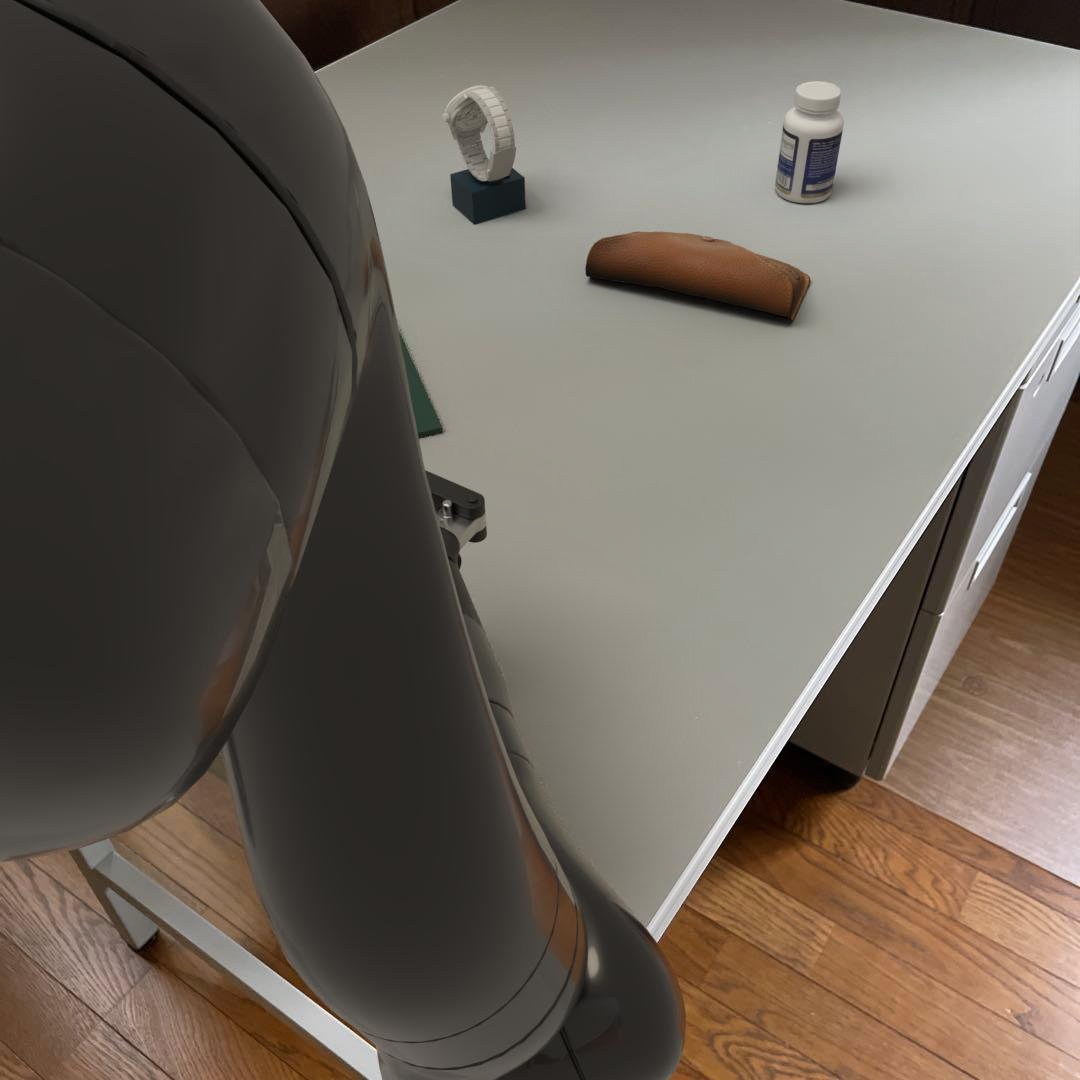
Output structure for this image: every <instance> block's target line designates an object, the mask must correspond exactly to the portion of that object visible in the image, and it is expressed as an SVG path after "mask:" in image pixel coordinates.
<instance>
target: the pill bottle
mask: <svg viewBox="0 0 1080 1080" xmlns="http://www.w3.org/2000/svg"><path fill="white" fill-rule="evenodd" d="M841 96H842V90H841V88H840V87H839V86H838V85H837V84H834V83H831V82H827V81H817V80H815V81H806V82H803V83H801V84H799V85H798V86H797V87H796V88H795V94H794V100H793V102H794V103H793V105H794V107H792V108H791V109H790V110H788V111H787V113H786V114H785V116H784V119H783V124H782V130H781V131H782V132H781V139H780V145H779V153H778V159H777V167H776V175H775V184H774V188H775V192H776V193H777V194H778V196H780V197H781V198H782V199H784V200H786V201H789V202H792V203H798V204H816V203H820V202H823V201H825V200H826V199H828V198H829V197H830V195H831V194H832V192H833V188H834V184H835V183H834V182H835V176H836V170H837V165H838V159H839V154H840V148H841V142H842V136H843V132H844V124H845V123H844V117H843V115H842V114H841V112H839V110H838V109H839V107H840V104H841V98H842V97H841Z"/></svg>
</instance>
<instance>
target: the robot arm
mask: <svg viewBox="0 0 1080 1080" xmlns="http://www.w3.org/2000/svg"><path fill="white" fill-rule="evenodd" d="M348 135H349V134H348V132H347V130H346V128H345V126H344V124H343V121H342V120H341V118H340V115H339V114H338V111H337V110H336V107H335V105H334V103H333V102H332V99H331V97H330V95H329V94H328V92H327V91H326V89H325V88H324V86H323V84H322V82H321V81H320V79H319V77H318V75H317V74H316V72H315V71H314V69H313V67H312V66H311V64H310V63H309V61H308V60H307V58H306V56H305V55H304V53H303V52H302V51H301V50H300V49H299V47H298V46H297V45H296V43H294V41H293V40H292V39H291V37H290V36H289V35H288V33H287V32H286V31H285V29H283V28H282V26H281V25H280V24H279V23H278V21H277V20H276V18H275V17H273V15H272V13H270V12H269V10H268V9H267V8H266V6H265V4H263V3H262V1H261V0H0V863H7V862H15V861H26V860H31V859H37V858H40V857H41V858H42V857H45V856H50V855H55V854H60V853H65V852H71V851H75V850H79V849H83V848H85V847H88V846H91V845H94V844H97V843H100V842H102V841H103V842H104V841H105V840H108V839H112V838H115V837H117V836H120V835H123V834H126V833H128V832H131V831H132V830H134V829H136V828H137V827H139V826H140V825H142V824H145V823H146V822H148V821H149V820H151V819H153V818H155V817H157V816H158V815H160V814H162V813H164V812H165V811H167V810H168V809H170V808H171V807H173V806H175V804H176V803H177V802H179V800H180V799H181V798H182V797H183V796H184V795H185V794H187V792H188V791H189V790H191V788H192V787H193V786H194V785H195V784H196V783H197V782H199V781H200V780H201V779H202V778H203V777H204V776H205V775H206V773H207V772H208V771H209V769H210V768H211V766H212V765H213V763H214V761H215V760H216V759H217V758H218V756H219V754H220V755H221V759H222V763H223V768H224V772H225V773H224V774H225V777H226V781H227V785H228V789H229V794H230V799H231V802H232V806H233V811H234V816H235V820H236V823H237V827H238V831H239V835H240V840H241V844H242V848H243V853H244V857H245V860H246V865H247V867H248V872H249V874H250V879H251V881H252V885H253V889H254V891H255V893H256V896H257V899H258V902H259V905H260V907H261V910H262V912H263V914H264V916H265V919H266V920H267V921H266V922H267V923H268V925H269V927H270V929H271V932H272V934H273V936H274V938H275V941H276V942H277V945H278V947H279V949H280V950H281V952H282V953H283V955H284V957H285V958H286V960H287V962H288V963H289V965H290V966H291V967H292V969H293V970H294V971H295V973H296V974H297V976H298V977H299V978H300V980H301V981H302V982H303V984H304V985H305V986H306V987H307V988H308V989H309V990H310V991H311V993H312V994H313V995H314V996H315V997H316V998H317V999H318V1000H319V1001H320V1002H321V1003H323V1004H324V1005H325V1006H326V1007H327V1008H328V1009H330V1010H331V1012H333V1013H334V1014H336V1015H337V1016H338V1017H339V1018H340V1019H342V1020H343V1021H344V1022H345V1023H347V1024H348V1025H349V1026H351V1028H353V1029H354V1030H356V1031H357V1032H358V1033H359V1034H361V1035H362V1036H363V1037H364V1038H366V1039H367V1040H368V1041H369V1042H371V1043H372V1044H373V1045H374V1046H375V1049H376V1057H377V1063H378V1068H379V1072H380V1077H381V1080H670V1078H672V1076H673V1075H674V1074H675V1071H676V1070H677V1067H678V1065H679V1063H680V1062H681V1060H682V1055H683V1051H684V1047H685V1042H686V1027H687V1015H686V1006H685V1000H684V997H683V993H682V989H681V986H680V983H679V980H678V977H677V975H676V973H675V971H674V969H673V967H672V964H671V962H670V960H669V959H668V957H667V956H666V955H667V954H665V952H664V951H663V949H662V947H661V946H660V944H658V942H657V941H656V939H655V938H654V936H653V935H652V934H651V933H650V931H649V930H648V928H647V927H646V926H645V924H644V923H643V921H642V920H641V919H640V918H639V917H638V916H637V915H636V914H635V912H634V911H633V910H632V909H631V908H630V907H629V906H628V904H627V903H626V902H625V901H624V900H623V899H622V897H621V896H620V895H619V894H618V893H617V892H616V890H615V889H614V888H613V887H612V886H611V885H610V884H609V883H608V881H607V880H606V879H605V878H604V877H603V876H602V875H601V874H600V872H599V871H598V869H596V867H595V866H594V865H593V864H592V862H591V861H590V859H588V858H587V856H586V855H585V854H584V853H583V851H582V850H581V848H580V847H579V846H578V844H577V842H575V840H574V839H573V837H572V835H571V834H570V833H569V832H568V830H567V829H566V827H565V826H564V824H563V823H562V822H561V819H560V818H559V816H558V814H557V812H556V810H555V808H554V807H553V805H552V804H551V803H552V802H550V800H549V798H548V795H547V794H546V791H545V789H544V787H543V784H542V782H541V780H540V778H539V776H538V774H537V771H536V770H535V766H534V764H533V762H532V759H531V757H530V754H529V752H528V751H529V750H528V749H527V747H526V744H525V742H524V739H523V737H522V734H521V732H520V729H519V727H518V724H517V722H516V720H515V717H514V714H513V711H512V706H511V702H510V697H509V693H508V689H507V685H506V683H505V682H506V681H505V679H504V676H503V673H502V670H501V668H500V665H499V663H498V660H497V658H496V655H495V653H494V650H493V647H492V646H491V643H490V641H489V638H488V636H487V634H486V631H485V628H484V626H483V624H482V621H481V619H480V617H479V614H478V612H477V610H476V606H475V604H474V602H473V600H472V597H471V595H470V592H469V590H468V587H467V585H466V582H465V580H464V578H463V575H462V573H461V567H462V563H463V561H462V556H461V554H460V552H461V550H462V549H463V548H464V546H466V545H467V543H468V542H469V543H473V544H476V543H477V544H478V543H481V542H483V541H484V540H485V539H487V537H488V528H487V527H488V526H487V515H486V514H487V513H486V503H485V497H484V495H483V494H482V493H479V492H477V491H474V490H473V489H471V488H468V487H465V486H463V485H461V484H459V483H456V482H454V481H451V480H449V479H447V478H445V477H442V476H440V475H437V474H435V473H433V472H430V471H428V470H426V468H425V464H424V458H423V453H422V447H421V444H420V442H421V441H420V438H419V437H418V432H417V427H416V421H415V416H414V411H413V406H412V400H411V395H410V389H409V384H408V378H407V373H406V367H405V362H404V357H403V351H402V346H401V340H400V335H399V332H400V329H399V325H398V320H397V314H396V310H395V304H394V300H393V294H392V289H391V286H390V281H389V276H388V272H387V266H386V261H385V257H384V252H383V248H382V243H381V240H380V235H379V232H378V231H379V230H378V226H377V222H376V219H375V214H374V210H373V206H372V203H371V199H370V195H369V192H368V188H367V186H366V182H365V180H364V177H363V173H362V171H361V168H360V165H359V162H358V159H357V157H356V154H355V151H354V148H353V145H352V144H351V140H350V138H349V136H348Z"/></svg>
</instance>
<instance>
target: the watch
mask: <svg viewBox="0 0 1080 1080" xmlns="http://www.w3.org/2000/svg"><path fill="white" fill-rule="evenodd" d="M441 117H442V121H443V123H447V124H448V127H449V130H450V132H451V136H452V138H453V140H454V141H456V144H457V146H458V150H459V153H460V154H461V159H462V160H463V162H464V164H465V165H466V167H467V168H466V169H463V170H460V171H456V172H453V173H449V177H450V188H451V189H450V190H451V200H452V206H453V207H454V208H455V209H456V210H458V211H459V212H460V213H461V214H462V215H463V216H464V217H465V218H466V219H467V220H468V221H469V222H470V223H471V224H473V225H477V224H480V223H484V222H487V221H490V220H493V219H496V218H500V217H503V216H506V215H509V214H512V213H516V212H519V211H520V212H521V211H522V210H525V209H526V208H527V207H526V205H527V204H526V179H525V178H526V177H524V175H522V174H521V173H519V171H517V170H516V169H515V168H513V166H514V162H515V160H516V159H515V158H516V152H517V146H516V140H515V138H516V137H515V132H514V124H513V121H512V117H511V114H510V111H509V108H508V106H507V103H506V101H505V100H504V98H503V97H502V95H501V93H499V91H497V89H496V88H495V87H494V86H487V85H483V84H482V85H474V86H471V87H467V88H465V89H464V90H462V91H460V92H459V93H457V94H456V95H455V96H453V98H451V100H450V101H449V102H448V103H447V105H446V107H445V108H444V112H443V113H442V115H441ZM487 124H488V126H489V128H490V132H491V136H492V145H493V149H492V150H490V153H489V158H488V155H487V153H486V151H485V147H484V144H483V141H482V136H481V133H484V132H485V130H486V128H487Z"/></svg>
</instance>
